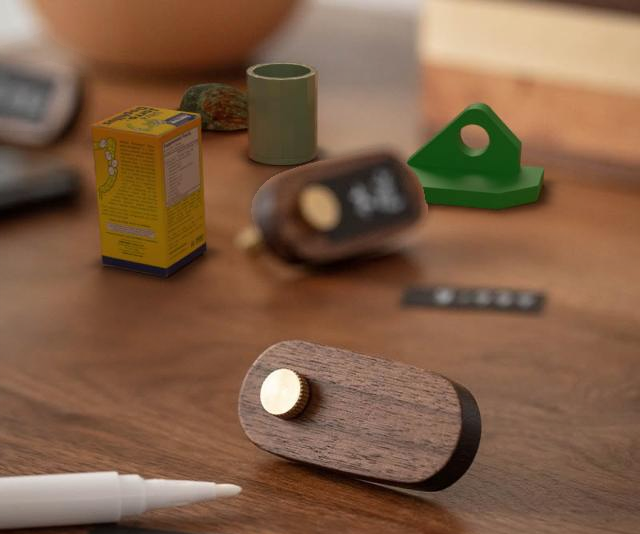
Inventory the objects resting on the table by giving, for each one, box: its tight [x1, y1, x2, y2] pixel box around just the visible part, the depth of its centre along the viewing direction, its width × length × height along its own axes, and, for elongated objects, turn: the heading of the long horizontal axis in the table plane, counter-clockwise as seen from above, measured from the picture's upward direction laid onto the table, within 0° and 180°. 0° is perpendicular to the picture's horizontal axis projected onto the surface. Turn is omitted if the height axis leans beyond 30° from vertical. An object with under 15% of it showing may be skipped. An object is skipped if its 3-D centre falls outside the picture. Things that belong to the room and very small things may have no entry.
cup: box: [245, 61, 319, 166], centre depth 121 cm, size 6×6×8 cm
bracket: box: [406, 101, 545, 210], centre depth 112 cm, size 12×8×7 cm, turn 75°
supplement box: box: [90, 104, 208, 278], centre depth 97 cm, size 6×6×11 cm
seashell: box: [175, 82, 247, 132], centre depth 132 cm, size 10×4×10 cm
